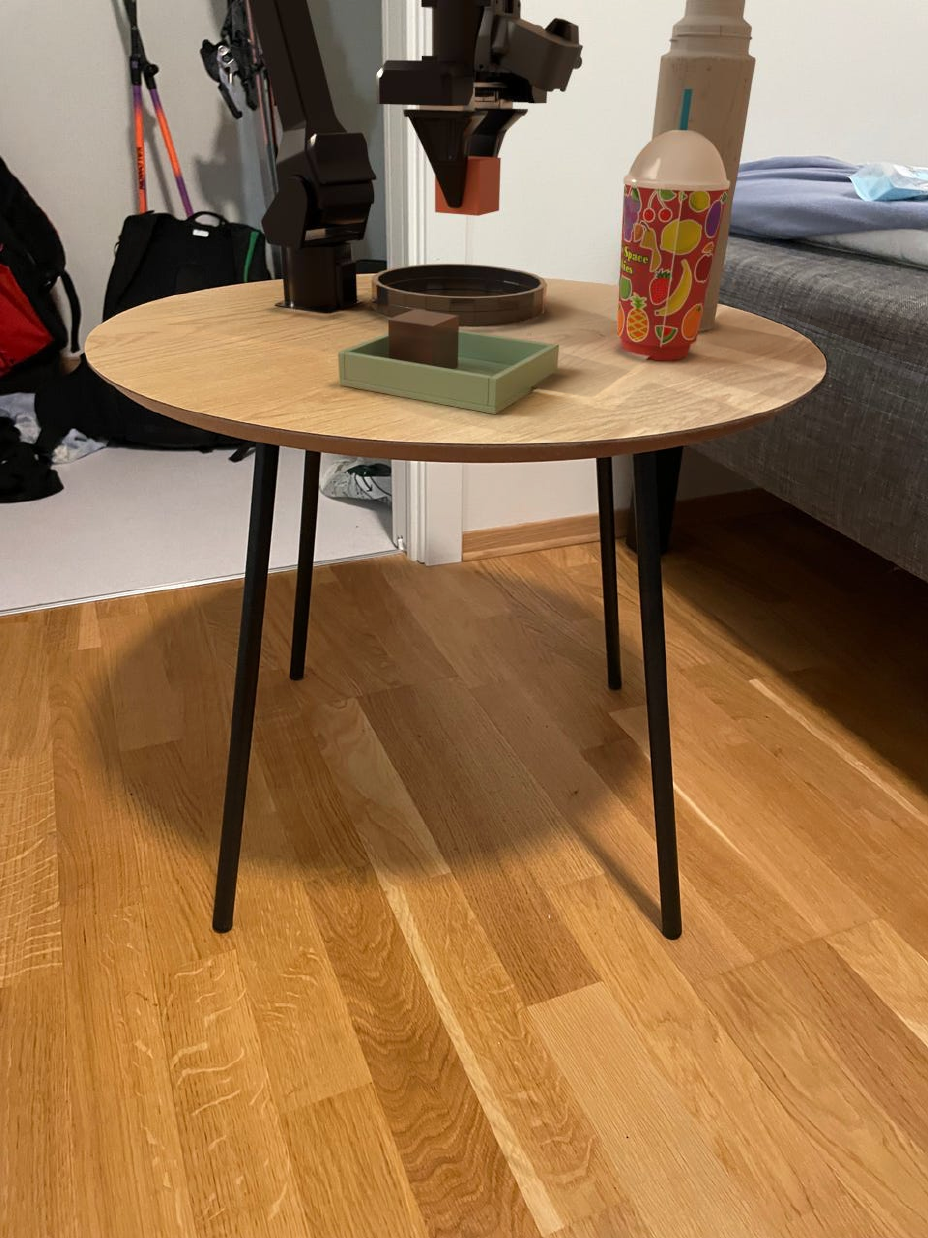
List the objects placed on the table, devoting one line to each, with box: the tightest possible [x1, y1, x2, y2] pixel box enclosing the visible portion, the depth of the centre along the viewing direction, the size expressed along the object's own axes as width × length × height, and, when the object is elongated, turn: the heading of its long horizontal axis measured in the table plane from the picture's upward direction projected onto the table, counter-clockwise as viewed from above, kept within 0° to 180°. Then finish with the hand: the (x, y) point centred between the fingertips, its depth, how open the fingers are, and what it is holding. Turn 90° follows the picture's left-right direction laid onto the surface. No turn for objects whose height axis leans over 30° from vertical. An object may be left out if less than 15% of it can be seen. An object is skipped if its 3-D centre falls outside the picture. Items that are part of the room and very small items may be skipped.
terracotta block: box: [434, 156, 502, 217], centre depth 76 cm, size 4×4×4 cm
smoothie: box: [616, 89, 730, 362], centre depth 76 cm, size 8×8×20 cm
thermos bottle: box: [651, 0, 757, 333], centre depth 84 cm, size 8×8×28 cm
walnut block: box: [387, 309, 460, 369], centre depth 72 cm, size 4×4×4 cm
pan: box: [371, 263, 548, 327], centre depth 93 cm, size 17×17×3 cm
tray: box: [337, 329, 560, 415], centre depth 72 cm, size 13×11×2 cm
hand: (466, 204), depth 77 cm, fingers closed on terracotta block, 4 cm apart
